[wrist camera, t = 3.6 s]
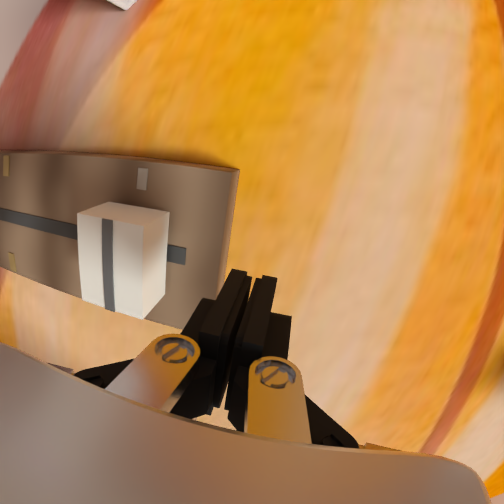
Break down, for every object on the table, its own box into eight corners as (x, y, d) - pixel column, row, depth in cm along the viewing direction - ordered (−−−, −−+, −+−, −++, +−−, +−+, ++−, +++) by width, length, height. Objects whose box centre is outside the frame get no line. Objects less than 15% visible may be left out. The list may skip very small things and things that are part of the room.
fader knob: (169, 211, 16) (142, 226, 13) (165, 294, 18) (142, 320, 15) (108, 201, 17) (75, 213, 14) (109, 279, 18) (81, 300, 15)
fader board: (239, 169, 17) (231, 172, 15) (219, 320, 21) (210, 337, 19) (-11, 150, 20) (-27, 153, 18) (-6, 251, 23) (-20, 258, 21)
